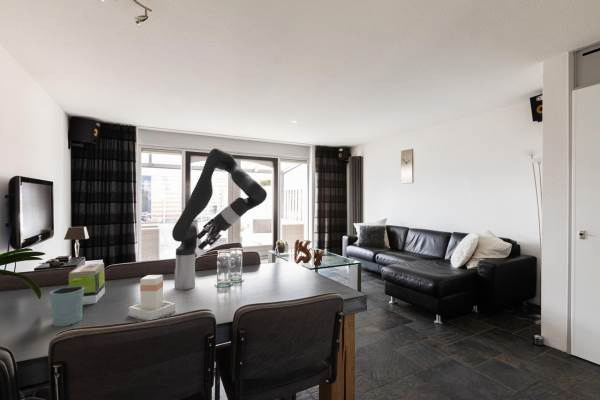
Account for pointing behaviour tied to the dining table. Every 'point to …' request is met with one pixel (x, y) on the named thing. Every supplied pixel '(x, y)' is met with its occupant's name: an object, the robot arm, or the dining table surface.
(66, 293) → the light blue cup
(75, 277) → the tea box
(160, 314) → the white rectangular dish
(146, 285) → the carton
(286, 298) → the dining table surface
